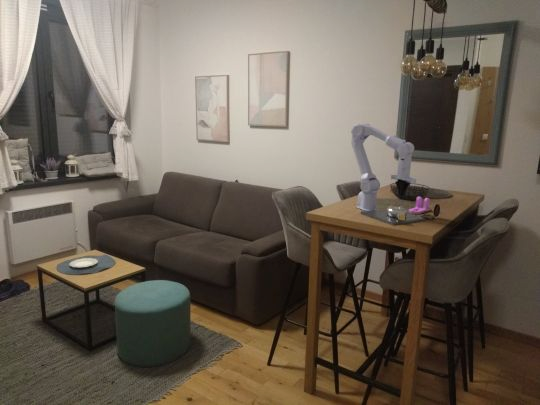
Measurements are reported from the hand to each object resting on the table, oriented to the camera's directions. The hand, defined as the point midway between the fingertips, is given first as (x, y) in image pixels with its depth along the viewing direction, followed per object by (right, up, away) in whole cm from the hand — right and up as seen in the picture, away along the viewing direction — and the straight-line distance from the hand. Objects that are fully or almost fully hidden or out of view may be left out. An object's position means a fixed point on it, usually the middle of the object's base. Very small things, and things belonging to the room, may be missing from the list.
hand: (401, 195), depth 199 cm
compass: (+13, -11, -2) cm, 17 cm away
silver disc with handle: (-4, -10, -6) cm, 12 cm away
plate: (-5, -10, -1) cm, 12 cm away
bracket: (+12, -8, +12) cm, 19 cm away
